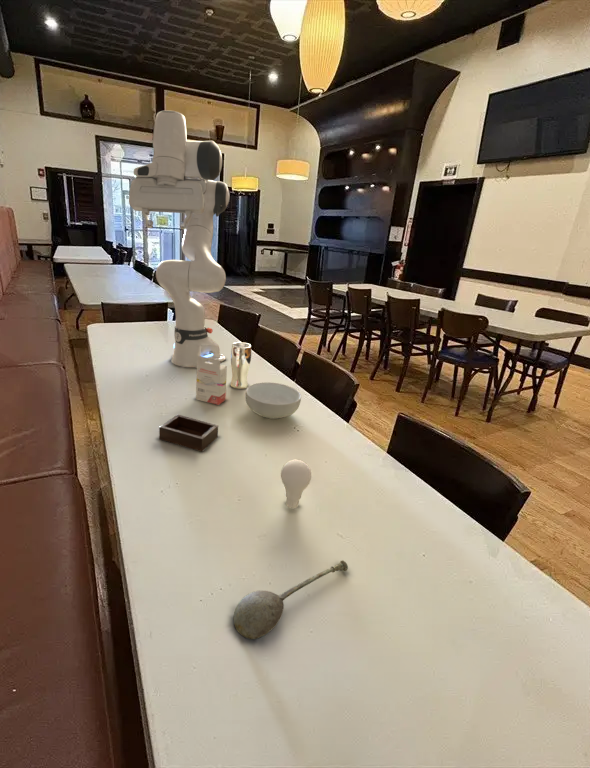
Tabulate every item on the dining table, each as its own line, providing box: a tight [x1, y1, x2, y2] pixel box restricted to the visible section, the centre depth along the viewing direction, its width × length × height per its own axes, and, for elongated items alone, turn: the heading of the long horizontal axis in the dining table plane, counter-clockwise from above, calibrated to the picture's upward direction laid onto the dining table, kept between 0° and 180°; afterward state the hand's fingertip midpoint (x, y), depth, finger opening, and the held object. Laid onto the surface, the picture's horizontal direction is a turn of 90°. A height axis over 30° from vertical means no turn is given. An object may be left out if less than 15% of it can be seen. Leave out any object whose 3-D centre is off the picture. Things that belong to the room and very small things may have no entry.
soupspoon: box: [233, 560, 349, 640], centre depth 65 cm, size 22×3×7 cm
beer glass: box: [230, 341, 252, 390], centre depth 143 cm, size 7×7×15 cm
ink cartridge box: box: [195, 356, 228, 406], centre depth 130 cm, size 9×5×15 cm, turn 67°
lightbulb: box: [280, 459, 312, 510], centre depth 84 cm, size 6×6×11 cm
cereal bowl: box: [245, 381, 302, 420], centre depth 126 cm, size 17×17×7 cm
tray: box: [158, 414, 219, 453], centre depth 108 cm, size 9×13×4 cm
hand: (166, 228), depth 112 cm, fingers open, 8 cm apart
